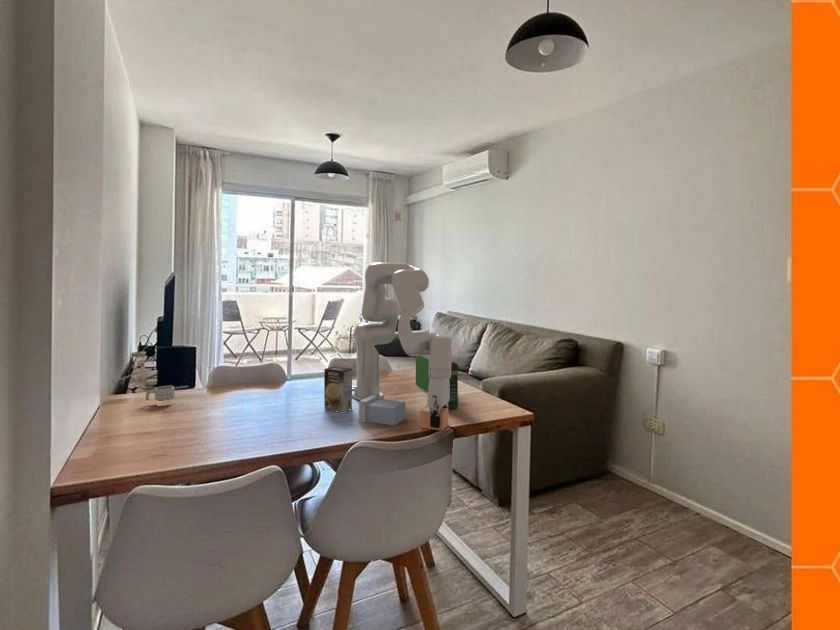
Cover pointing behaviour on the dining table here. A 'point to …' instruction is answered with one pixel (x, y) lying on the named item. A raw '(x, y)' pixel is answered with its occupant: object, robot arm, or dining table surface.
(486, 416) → the dining table surface
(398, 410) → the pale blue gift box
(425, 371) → the hardback book
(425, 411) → the peach rectangular block
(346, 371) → the coffee box
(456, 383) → the coffee jar
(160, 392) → the mug
